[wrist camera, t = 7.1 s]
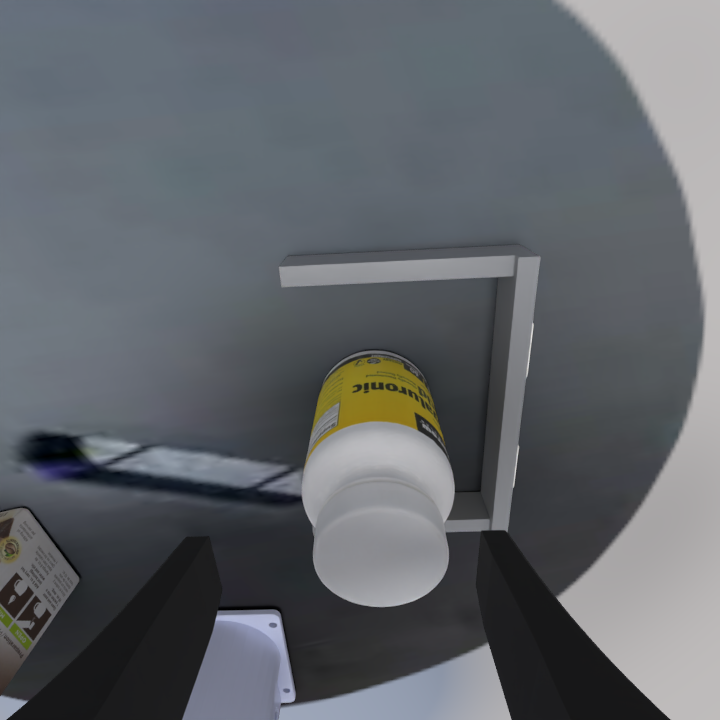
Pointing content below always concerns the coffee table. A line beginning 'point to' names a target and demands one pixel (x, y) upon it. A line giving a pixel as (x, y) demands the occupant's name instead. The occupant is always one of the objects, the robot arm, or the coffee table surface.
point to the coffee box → (27, 587)
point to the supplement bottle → (378, 482)
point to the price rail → (508, 348)
